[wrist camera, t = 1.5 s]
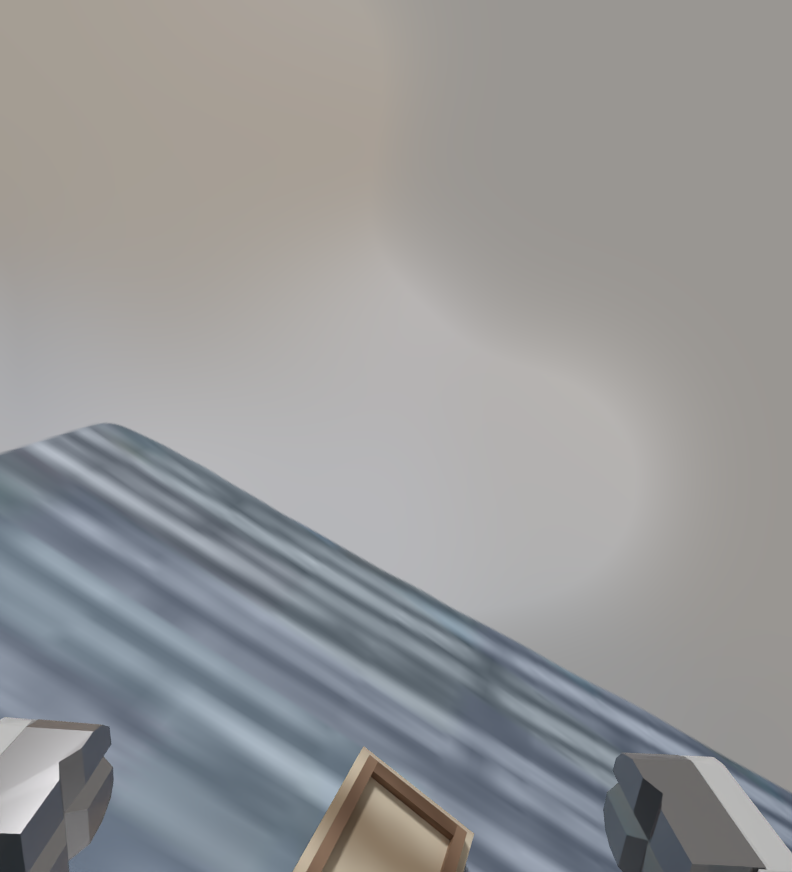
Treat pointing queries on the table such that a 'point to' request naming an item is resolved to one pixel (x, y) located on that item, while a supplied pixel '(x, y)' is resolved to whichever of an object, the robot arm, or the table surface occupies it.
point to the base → (384, 827)
